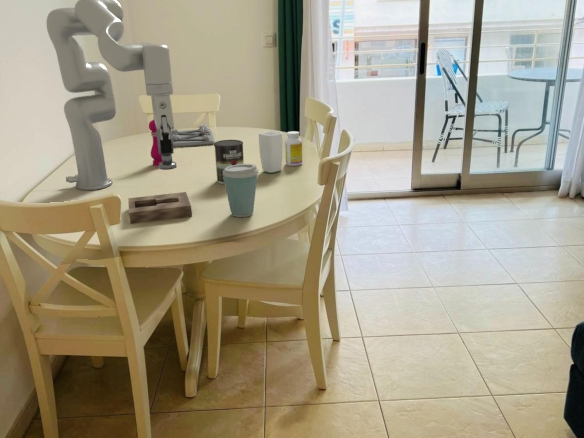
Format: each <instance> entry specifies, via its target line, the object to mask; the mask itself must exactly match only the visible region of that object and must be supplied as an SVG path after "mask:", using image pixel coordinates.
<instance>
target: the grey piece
mask: <svg viewBox="0 0 584 438" xmlns="http://www.w3.org/2000/svg"><path fill="white" fill-rule="evenodd" d="M197 128H198V129H187V130H184V129H183V130H179V129H178V128H174V129H172V128H171V129H172V139H173V149H175V147H176V148H187V147H188V148H189V147H202V146H214V143H215V142H216V141H215V138H214V135H213V134H214V133H212V129H210V128H208V125H207V124H206V123H203V124H200V125H198V127H197Z"/></svg>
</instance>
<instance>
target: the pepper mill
mask: <svg viewBox="0 0 584 438" xmlns="http://www.w3.org/2000/svg"><path fill="white" fill-rule="evenodd" d="M148 129H149V131H151V132H150V136H151V137H152V145H151V150H150V157H151V158H152V159H153V160H152V165H153V166H154V167H159V163H161V162H162V155H160V154H159V149H158V140H157V131H156V124H155V120H154V116H153V119H152V120H150V121H149V123H148Z"/></svg>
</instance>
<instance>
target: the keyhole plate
mask: <svg viewBox="0 0 584 438" xmlns="http://www.w3.org/2000/svg"><path fill="white" fill-rule="evenodd" d="M128 216H129V223H130V225H134V224H140V223H149V222H156V221H157V222H158V221H165V220H174V219H181V218H182V219H183V218H190V217H193V211H192V205H191V202H190V198H189V196H188V194H187V191H183V192H182V191H181V192H174V193H173V192H171V193H166V194H165V193H163V194H155V195H154V194H153V195H147V196H138V197H128Z"/></svg>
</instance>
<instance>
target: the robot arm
mask: <svg viewBox="0 0 584 438" xmlns="http://www.w3.org/2000/svg"><path fill="white" fill-rule="evenodd" d="M123 19H124V10H123V8H122V5H121V4H120V2H119V1H117V0H78V1H77V2H75V5H74V7H60V8H56V9H52V10H51V11H50V12H49V13H48V14H47V17H46V29H47V34H48V36H49V39H50V41H51V43H52V44H53V45H52V46H53V48H54V50H55V54H56V57H57V63H58V66H59V71H60V76H61V80H62V84H63V86H64V89H65V90H66V91H67V92H69V93H72V94H75V93H77V94H78V93H87V92H94V94H91V95H82V96H75V97H72V98H70V99H68V100H67V101H66V102H65V103H64V105H63V111H64V112H63V113H64V116H65V119H66V121H67V124H68V127H69V129H70V136H71V139H72V146H73V151H74V156H75V163H76V168H77V174H75V175H74V176H65V180H66V181H65V183H75V187H76V189H78V190H81V191H96V190H100V189H104V188H108V187H110V186H111V185H112V184H113V179H112V178H110V177H108V174H107V167H106V162H105V156H104V148H103V142H102V136H101V134H100V132H99V131H98V129H96V128H95V126H94V125H93V124H96V123H100V122H108V121H111V120H113V119H114V118H115V116H116V113H117V105H116V99H115V95H114V89H113V84H112V79H111V76H110V72H109V70H108V69H107V68H108V67H106V65H104V64H103V63H101V62H99V61H90V62H87V61H86V57H85V54H84V53H85V52H84V49H83V47H82V45H81V44H80V43H79V41H77V40H76V39H75V37H74V36H91V35H92V36H95V37H96V38H97V46H98V50H99V53H100V55H101V57H102V59H103V60H105V62H106V63H108V64H109V65H110V66H111V67H112V68H113V69H114V70H116V71H119V72H123V73H125V72H126V73H127V72H134V71H143V73H144V82H145V90H146V91H145V92H146V96H148V97H150V98H151V106H152V107H151V108H152V114H153V117H154V119H153V120H155V124H156V127H157V129H158V130H160V137H161V140H160V146H161V153H172V144H171V139H170V131H169V126H170V128H171V129H175V123H174V115H173V114H174V113H173V107H172V101H171V100H172V99H171V95H174V89H173V88H174V87H173V78H172V67H171V66H172V65H171V59H170V49H169V47H168V45H166V44H162V43H161V44H159V43H158V44H157V43H155V44H153V43H150V42H139V43H138V42H136V43H134V42H133V43H121V44H120V43H118V42H119V41H120V40H121V39H122V38H123V37H124V33H125V27H124V23H123ZM161 127H163V129H161ZM167 127H168V128H167ZM162 131H163V132H162Z"/></svg>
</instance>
